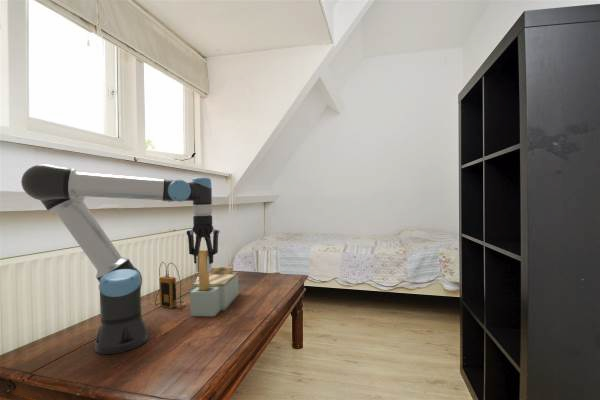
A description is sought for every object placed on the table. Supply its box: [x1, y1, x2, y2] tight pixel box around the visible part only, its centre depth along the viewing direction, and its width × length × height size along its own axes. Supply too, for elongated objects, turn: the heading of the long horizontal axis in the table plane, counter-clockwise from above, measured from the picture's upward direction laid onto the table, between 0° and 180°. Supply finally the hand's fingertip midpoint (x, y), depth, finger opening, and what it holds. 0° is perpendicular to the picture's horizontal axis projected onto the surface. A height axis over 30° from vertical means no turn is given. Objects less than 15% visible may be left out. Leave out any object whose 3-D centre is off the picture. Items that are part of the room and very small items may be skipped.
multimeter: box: [154, 261, 188, 309], centre depth 138 cm, size 15×10×20 cm
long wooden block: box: [198, 249, 210, 291], centre depth 126 cm, size 4×4×16 cm
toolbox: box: [189, 274, 239, 317], centre depth 136 cm, size 14×27×10 cm, turn 175°
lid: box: [192, 266, 239, 287], centre depth 140 cm, size 14×20×4 cm
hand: (203, 271), depth 126 cm, fingers closed on long wooden block, 4 cm apart
